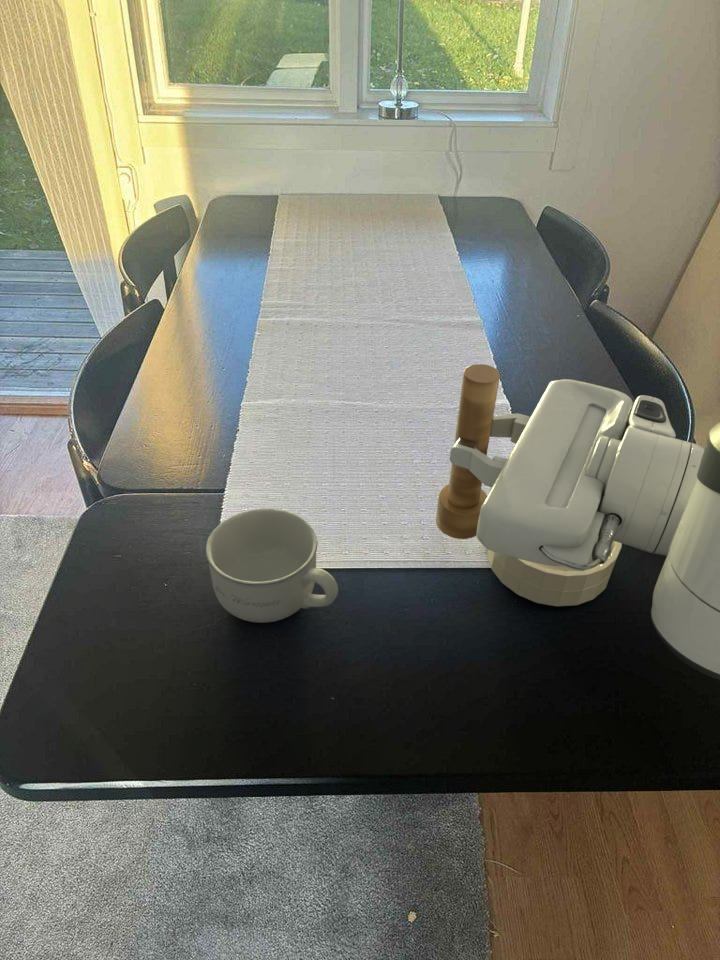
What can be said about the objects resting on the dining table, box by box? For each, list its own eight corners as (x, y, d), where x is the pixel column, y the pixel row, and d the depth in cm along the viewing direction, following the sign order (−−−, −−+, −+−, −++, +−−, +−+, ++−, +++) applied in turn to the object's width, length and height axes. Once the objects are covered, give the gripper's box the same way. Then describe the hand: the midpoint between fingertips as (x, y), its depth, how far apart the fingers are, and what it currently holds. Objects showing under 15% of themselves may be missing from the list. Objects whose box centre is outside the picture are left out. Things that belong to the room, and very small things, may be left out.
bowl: (622, 549, 79) (635, 514, 75) (587, 630, 70) (600, 595, 67) (512, 507, 84) (519, 472, 80) (467, 578, 75) (473, 543, 72)
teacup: (194, 596, 73) (182, 543, 68) (272, 542, 79) (267, 489, 74) (284, 676, 66) (279, 623, 61) (362, 610, 72) (364, 556, 67)
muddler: (491, 516, 65) (519, 368, 55) (472, 545, 62) (497, 395, 52) (448, 499, 67) (467, 352, 56) (427, 527, 64) (443, 377, 53)
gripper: (591, 607, 49) (410, 541, 53) (642, 447, 63) (495, 406, 67) (614, 544, 45) (415, 478, 49) (663, 388, 59) (505, 348, 63)
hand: (462, 435), depth 58 cm, fingers closed on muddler, 3 cm apart
